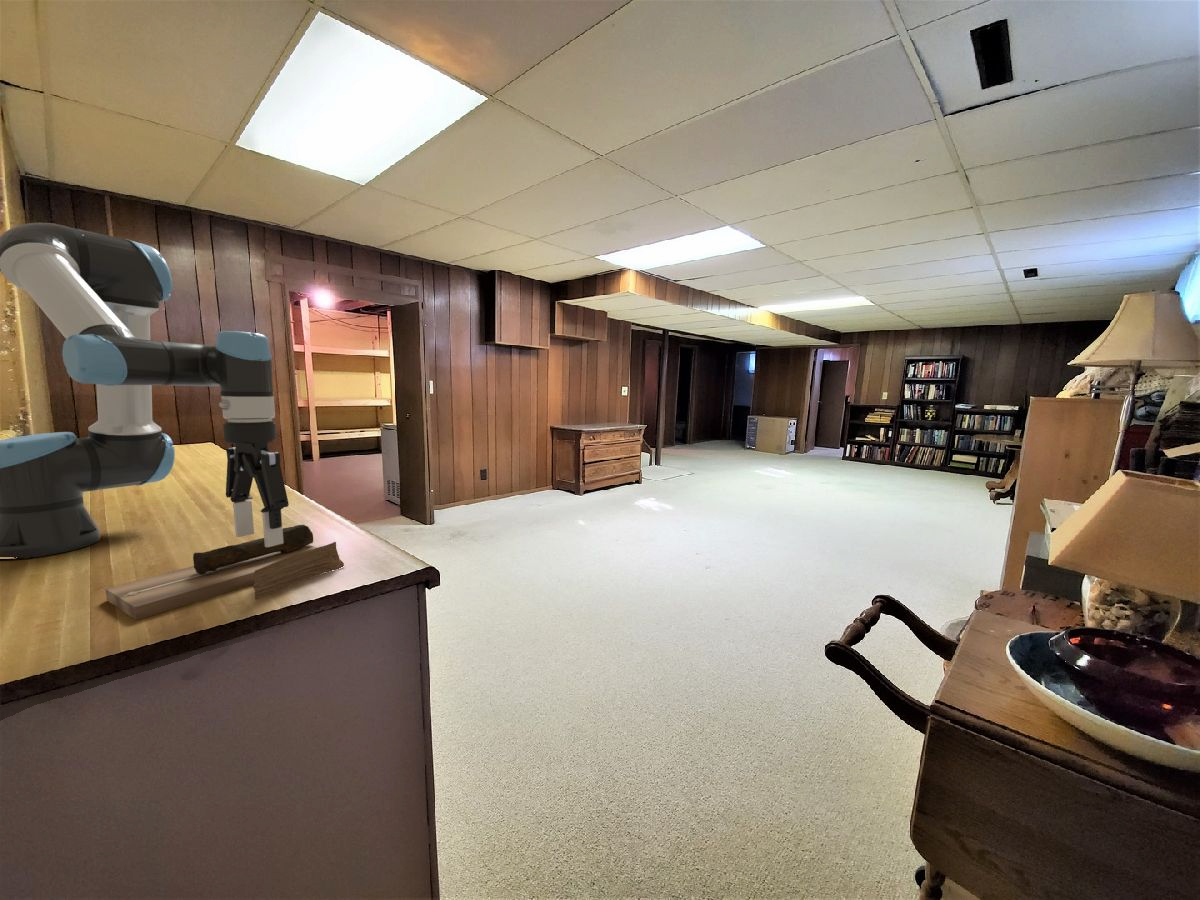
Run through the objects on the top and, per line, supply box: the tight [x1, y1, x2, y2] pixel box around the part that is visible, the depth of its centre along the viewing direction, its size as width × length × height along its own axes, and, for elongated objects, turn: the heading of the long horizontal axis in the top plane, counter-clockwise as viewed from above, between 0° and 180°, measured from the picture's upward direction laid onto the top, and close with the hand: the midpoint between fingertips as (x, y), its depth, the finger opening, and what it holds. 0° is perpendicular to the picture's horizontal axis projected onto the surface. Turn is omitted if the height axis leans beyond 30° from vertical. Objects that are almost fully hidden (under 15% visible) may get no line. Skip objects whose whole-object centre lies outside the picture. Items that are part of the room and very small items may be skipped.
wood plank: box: [252, 541, 345, 600], centre depth 81 cm, size 15×2×5 cm, turn 159°
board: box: [105, 544, 318, 621], centre depth 82 cm, size 12×28×2 cm, turn 151°
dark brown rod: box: [192, 524, 314, 575], centre depth 86 cm, size 19×4×5 cm, turn 147°
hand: (259, 539), depth 86 cm, fingers open, 10 cm apart
